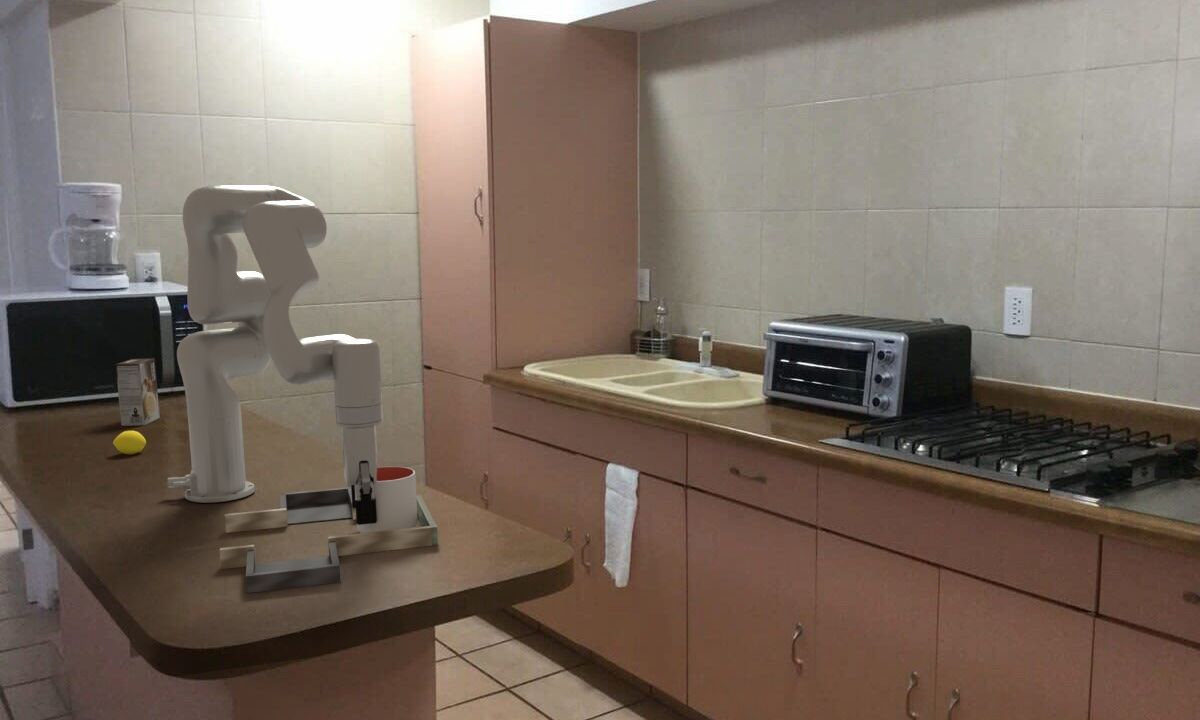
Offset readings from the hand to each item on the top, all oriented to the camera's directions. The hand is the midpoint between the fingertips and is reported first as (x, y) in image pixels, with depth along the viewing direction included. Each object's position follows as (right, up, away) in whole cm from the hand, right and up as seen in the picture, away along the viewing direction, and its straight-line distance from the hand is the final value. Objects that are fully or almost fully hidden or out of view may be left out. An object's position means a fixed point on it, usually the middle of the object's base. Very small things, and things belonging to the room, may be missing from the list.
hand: (364, 515), depth 176 cm
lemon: (-67, +4, +62) cm, 91 cm away
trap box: (-6, -4, -1) cm, 7 cm away
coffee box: (-80, +10, +97) cm, 126 cm away
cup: (+4, -3, +2) cm, 5 cm away
